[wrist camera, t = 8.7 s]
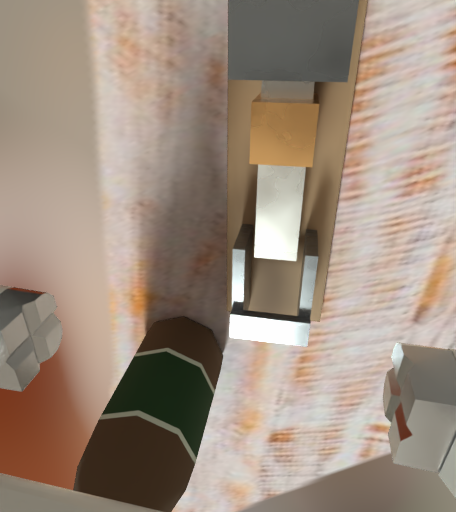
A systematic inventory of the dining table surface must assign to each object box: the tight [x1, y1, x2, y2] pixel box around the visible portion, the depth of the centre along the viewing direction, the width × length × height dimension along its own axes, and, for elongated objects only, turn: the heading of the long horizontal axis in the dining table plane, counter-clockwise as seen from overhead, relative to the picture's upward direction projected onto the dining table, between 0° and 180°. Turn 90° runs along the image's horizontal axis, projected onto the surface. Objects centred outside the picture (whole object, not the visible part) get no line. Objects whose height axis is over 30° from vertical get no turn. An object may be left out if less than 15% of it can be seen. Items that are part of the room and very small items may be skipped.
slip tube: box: [249, 80, 319, 261], centre depth 23 cm, size 3×14×5 cm, turn 0°
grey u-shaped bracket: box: [230, 224, 318, 347], centre depth 28 cm, size 5×7×5 cm
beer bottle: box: [73, 317, 223, 512], centre depth 26 cm, size 8×8×24 cm
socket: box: [228, 0, 359, 82], centre depth 20 cm, size 6×4×5 cm
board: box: [227, 0, 368, 322], centre depth 27 cm, size 8×23×1 cm, turn 0°
